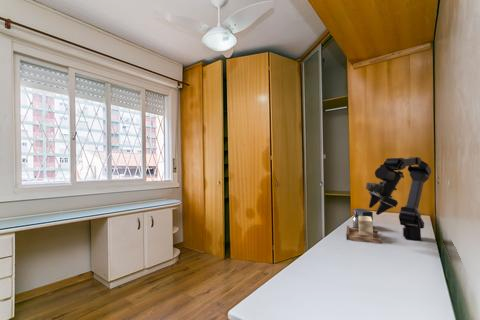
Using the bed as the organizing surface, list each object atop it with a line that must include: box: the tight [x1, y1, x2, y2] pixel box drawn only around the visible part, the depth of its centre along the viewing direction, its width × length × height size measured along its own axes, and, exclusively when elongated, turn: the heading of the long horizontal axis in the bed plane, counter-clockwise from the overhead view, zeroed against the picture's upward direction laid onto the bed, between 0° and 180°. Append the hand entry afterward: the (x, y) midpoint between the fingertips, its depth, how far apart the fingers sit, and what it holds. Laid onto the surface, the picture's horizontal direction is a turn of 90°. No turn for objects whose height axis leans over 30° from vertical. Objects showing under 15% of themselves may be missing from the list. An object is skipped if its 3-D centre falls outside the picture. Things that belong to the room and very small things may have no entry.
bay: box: [345, 225, 382, 244], centre depth 120 cm, size 15×16×3 cm
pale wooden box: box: [358, 216, 374, 238], centre depth 119 cm, size 6×11×9 cm, turn 154°
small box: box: [353, 208, 374, 222], centre depth 137 cm, size 11×6×10 cm, turn 1°
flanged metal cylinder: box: [351, 212, 359, 229], centre depth 134 cm, size 5×8×9 cm
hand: (373, 210), depth 112 cm, fingers open, 9 cm apart
